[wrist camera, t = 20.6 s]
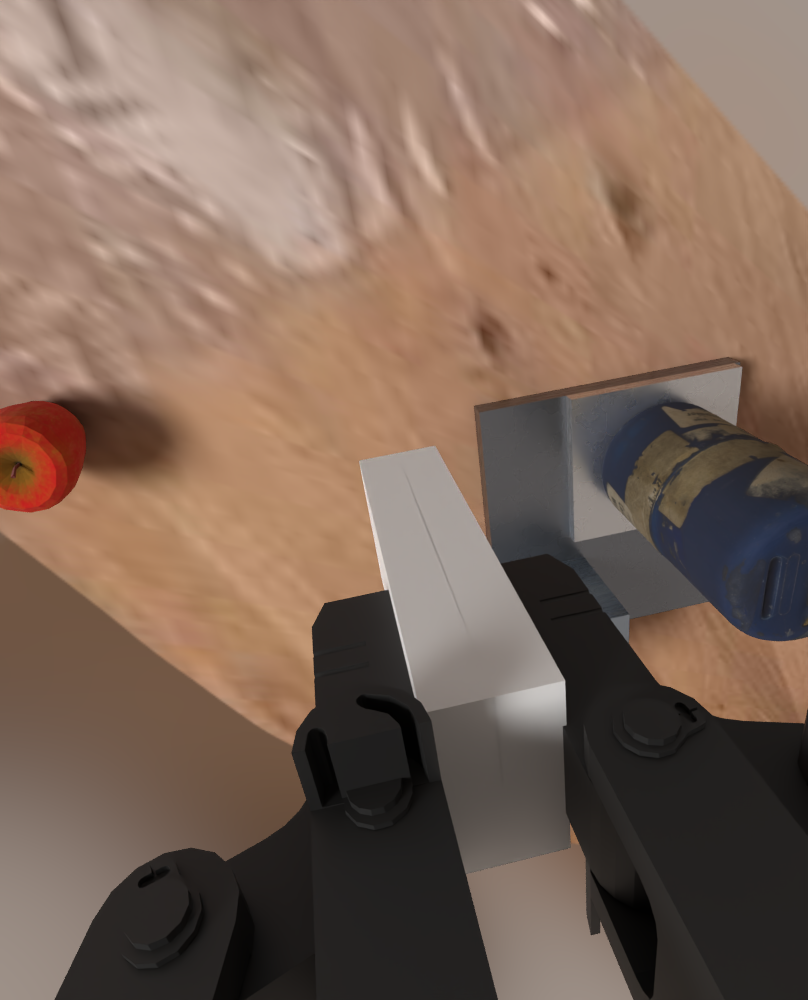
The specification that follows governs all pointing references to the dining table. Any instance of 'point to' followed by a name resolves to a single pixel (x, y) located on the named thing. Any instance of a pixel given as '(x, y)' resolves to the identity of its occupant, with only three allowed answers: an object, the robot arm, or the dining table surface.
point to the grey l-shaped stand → (588, 482)
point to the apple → (38, 455)
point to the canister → (718, 512)
